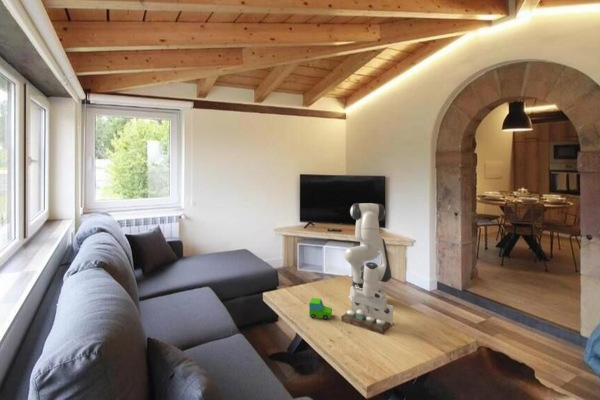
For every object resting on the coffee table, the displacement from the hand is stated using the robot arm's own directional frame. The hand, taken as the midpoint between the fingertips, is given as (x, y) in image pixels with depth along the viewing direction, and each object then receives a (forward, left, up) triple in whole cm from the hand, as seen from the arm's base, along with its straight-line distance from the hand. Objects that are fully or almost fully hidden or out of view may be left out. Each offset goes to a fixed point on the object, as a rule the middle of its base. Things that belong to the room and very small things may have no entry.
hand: (369, 313), depth 204 cm
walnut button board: (0, -2, -8) cm, 8 cm away
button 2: (0, -6, -5) cm, 7 cm away
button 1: (0, -12, -7) cm, 14 cm away
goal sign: (-8, -2, -8) cm, 11 cm away
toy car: (+7, -29, -8) cm, 31 cm away
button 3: (0, +1, -7) cm, 7 cm away
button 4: (0, +7, -7) cm, 10 cm away
